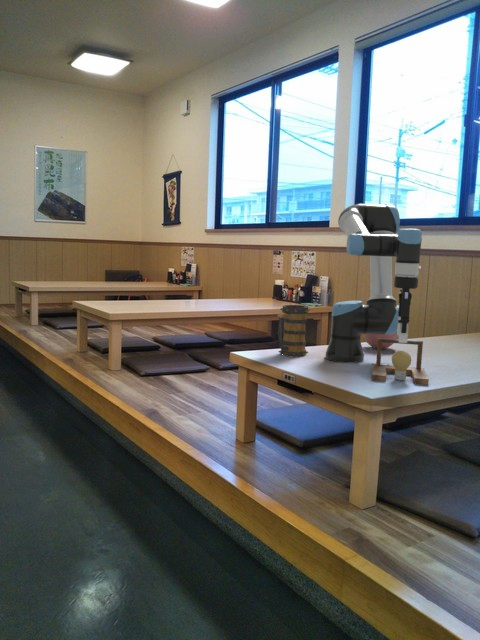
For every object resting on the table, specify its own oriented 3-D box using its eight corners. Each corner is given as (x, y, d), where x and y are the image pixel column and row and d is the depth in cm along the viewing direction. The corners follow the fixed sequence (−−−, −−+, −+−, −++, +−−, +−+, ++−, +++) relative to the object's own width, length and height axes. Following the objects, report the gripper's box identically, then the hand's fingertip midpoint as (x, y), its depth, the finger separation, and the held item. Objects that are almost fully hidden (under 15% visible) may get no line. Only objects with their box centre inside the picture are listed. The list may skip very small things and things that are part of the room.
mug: (315, 354, 224) (317, 306, 222) (289, 360, 212) (291, 309, 209) (290, 350, 233) (292, 304, 230) (264, 355, 221) (266, 306, 218)
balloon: (399, 354, 230) (402, 318, 228) (356, 348, 242) (358, 314, 240) (412, 349, 242) (414, 316, 240) (370, 344, 254) (372, 311, 252)
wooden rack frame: (372, 380, 182) (374, 345, 180) (372, 369, 199) (374, 337, 198) (428, 385, 178) (431, 349, 176) (423, 373, 195) (426, 340, 193)
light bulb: (387, 379, 184) (389, 350, 182) (394, 376, 189) (396, 348, 187) (405, 383, 180) (407, 353, 178) (412, 379, 185) (414, 351, 183)
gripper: (421, 279, 166) (416, 346, 169) (415, 274, 190) (411, 333, 193) (396, 278, 168) (391, 345, 171) (393, 273, 192) (389, 332, 195)
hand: (401, 339), depth 182 cm, fingers open, 13 cm apart
